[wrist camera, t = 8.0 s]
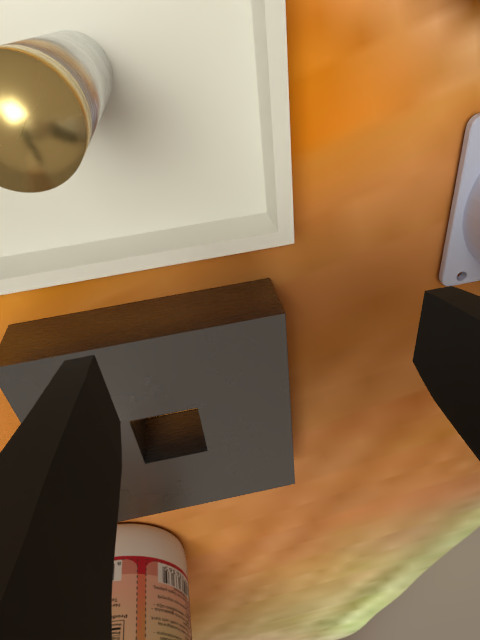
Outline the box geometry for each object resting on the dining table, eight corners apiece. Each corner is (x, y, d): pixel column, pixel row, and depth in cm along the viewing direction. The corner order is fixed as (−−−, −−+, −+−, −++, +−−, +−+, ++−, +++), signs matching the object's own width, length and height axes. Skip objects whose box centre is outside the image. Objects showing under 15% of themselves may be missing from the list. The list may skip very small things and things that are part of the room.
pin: (101, 25, 14) (60, 39, 7) (121, 108, 15) (102, 181, 9) (22, 35, 14) (-91, 59, 7) (50, 119, 15) (-22, 202, 9)
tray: (250, -265, 11) (272, -328, 9) (278, 217, 19) (294, 243, 17) (-301, -217, 10) (-414, -275, 8) (-36, 271, 18) (-60, 305, 16)
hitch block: (269, 278, 21) (285, 313, 18) (282, 442, 28) (294, 483, 25) (8, 325, 20) (-11, 368, 17) (90, 482, 27) (84, 529, 24)
